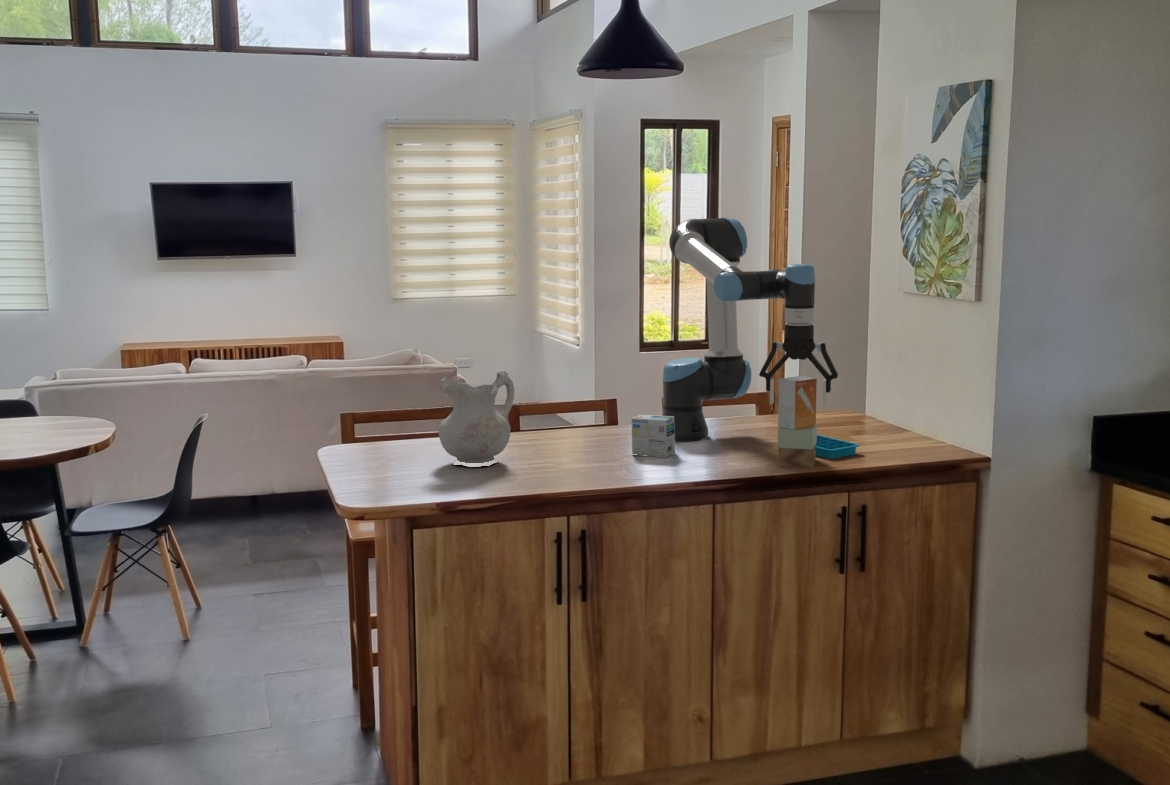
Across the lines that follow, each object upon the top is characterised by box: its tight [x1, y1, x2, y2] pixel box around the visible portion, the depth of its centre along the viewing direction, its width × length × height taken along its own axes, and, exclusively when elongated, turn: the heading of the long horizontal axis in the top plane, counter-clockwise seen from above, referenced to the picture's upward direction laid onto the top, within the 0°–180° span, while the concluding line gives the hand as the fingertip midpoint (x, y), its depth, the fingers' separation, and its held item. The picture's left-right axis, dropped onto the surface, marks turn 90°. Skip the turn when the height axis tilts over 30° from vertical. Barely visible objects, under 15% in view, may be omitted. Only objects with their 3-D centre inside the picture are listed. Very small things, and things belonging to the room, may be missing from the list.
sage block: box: [777, 423, 818, 449], centre depth 287 cm, size 9×9×5 cm
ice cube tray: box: [816, 434, 860, 460], centre depth 302 cm, size 12×20×3 cm, turn 31°
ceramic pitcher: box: [438, 370, 515, 463], centre depth 295 cm, size 22×20×25 cm
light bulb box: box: [631, 414, 676, 458], centre depth 302 cm, size 11×7×11 cm, turn 65°
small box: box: [777, 375, 818, 430], centre depth 286 cm, size 8×6×13 cm
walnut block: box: [778, 444, 817, 468], centre depth 288 cm, size 9×9×5 cm
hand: (797, 404), depth 286 cm, fingers open, 13 cm apart
